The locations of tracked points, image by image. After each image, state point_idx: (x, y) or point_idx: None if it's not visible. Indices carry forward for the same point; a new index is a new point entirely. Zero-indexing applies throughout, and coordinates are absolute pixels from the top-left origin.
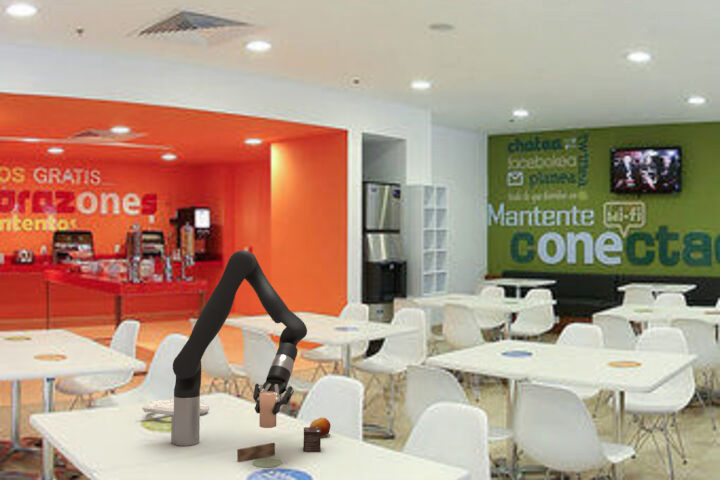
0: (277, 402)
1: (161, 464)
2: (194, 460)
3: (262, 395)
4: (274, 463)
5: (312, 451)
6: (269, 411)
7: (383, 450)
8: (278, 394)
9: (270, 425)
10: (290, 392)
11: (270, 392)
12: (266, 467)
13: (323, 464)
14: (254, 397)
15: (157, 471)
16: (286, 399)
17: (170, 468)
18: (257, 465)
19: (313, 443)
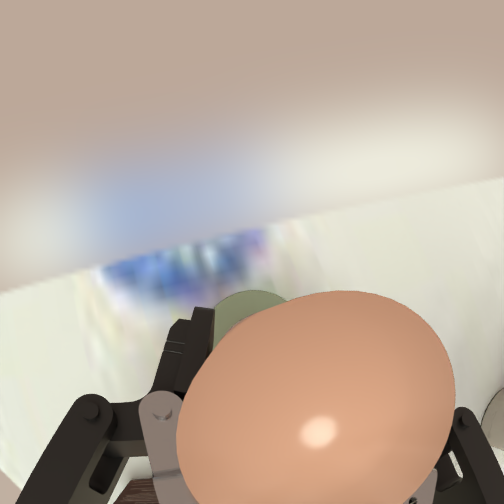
0: (176, 399)
1: (488, 245)
2: (454, 298)
3: (383, 298)
4: (223, 331)
5: (151, 479)
6: (246, 317)
7: (11, 475)
8: (162, 481)
9: (236, 322)
10: (30, 502)
11: (307, 491)
12: (239, 292)
13: (79, 362)
14: (462, 414)
15: (469, 197)
16: (101, 471)
17: (464, 221)
18: (273, 294)
19: (141, 490)
